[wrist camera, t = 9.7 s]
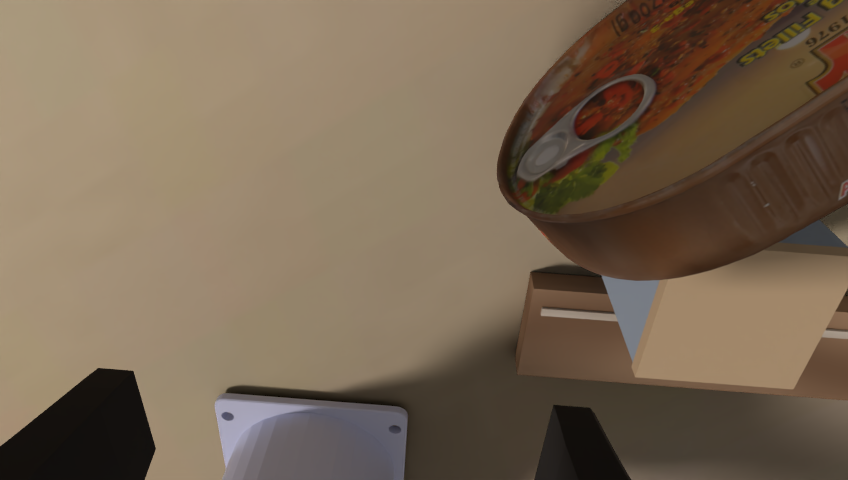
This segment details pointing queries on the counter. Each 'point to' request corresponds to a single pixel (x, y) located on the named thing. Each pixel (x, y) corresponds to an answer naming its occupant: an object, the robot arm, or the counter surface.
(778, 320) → the tan grey block
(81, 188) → the counter surface
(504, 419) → the counter surface
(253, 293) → the counter surface
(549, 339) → the board
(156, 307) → the counter surface
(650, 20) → the tin
